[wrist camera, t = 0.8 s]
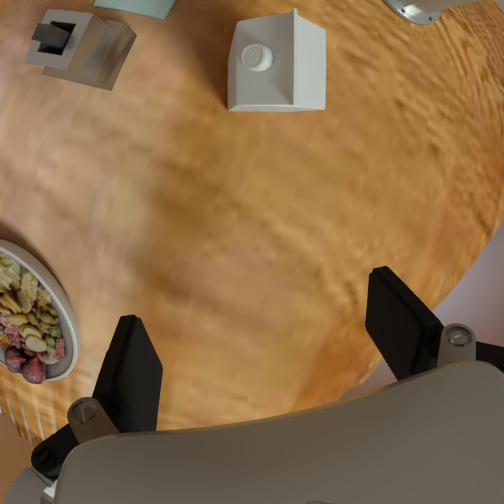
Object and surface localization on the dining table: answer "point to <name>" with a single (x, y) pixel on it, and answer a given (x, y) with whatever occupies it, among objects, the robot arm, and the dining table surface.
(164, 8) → the mat
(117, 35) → the post
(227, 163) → the dining table surface
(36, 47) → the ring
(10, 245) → the bowl
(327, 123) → the dining table surface
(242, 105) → the milk carton
